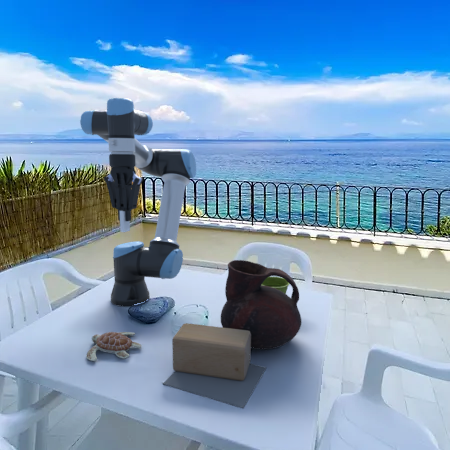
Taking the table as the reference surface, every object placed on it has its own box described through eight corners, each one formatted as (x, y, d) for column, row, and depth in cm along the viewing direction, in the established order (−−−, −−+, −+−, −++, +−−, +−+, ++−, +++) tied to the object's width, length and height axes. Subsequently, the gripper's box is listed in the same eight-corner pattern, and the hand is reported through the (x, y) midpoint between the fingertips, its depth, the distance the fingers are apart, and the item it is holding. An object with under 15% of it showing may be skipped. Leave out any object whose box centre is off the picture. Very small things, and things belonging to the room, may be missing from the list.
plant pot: (260, 301, 148) (261, 275, 146) (290, 305, 145) (291, 278, 143) (254, 313, 137) (255, 285, 135) (286, 318, 134) (287, 288, 132)
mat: (195, 350, 111) (195, 350, 111) (266, 368, 102) (266, 367, 102) (162, 384, 95) (162, 383, 95) (243, 408, 86) (243, 407, 86)
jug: (295, 369, 102) (299, 283, 97) (209, 354, 109) (209, 273, 105) (303, 329, 126) (307, 258, 121) (232, 318, 133) (233, 251, 128)
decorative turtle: (112, 330, 124) (112, 317, 123) (153, 342, 117) (153, 327, 116) (69, 357, 107) (68, 341, 106) (113, 372, 100) (112, 355, 100)
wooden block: (171, 372, 100) (244, 383, 95) (171, 337, 98) (245, 347, 93) (183, 353, 109) (250, 362, 105) (183, 321, 107) (251, 329, 103)
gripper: (95, 153, 109) (100, 231, 113) (132, 153, 104) (135, 235, 108) (113, 153, 115) (116, 227, 120) (148, 153, 110) (150, 231, 115)
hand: (125, 231), depth 114 cm, fingers closed
